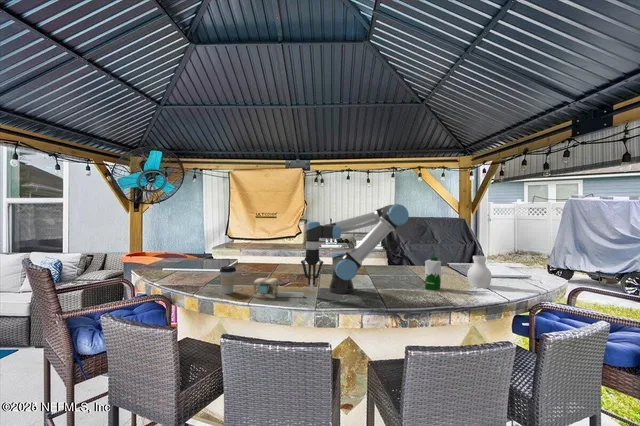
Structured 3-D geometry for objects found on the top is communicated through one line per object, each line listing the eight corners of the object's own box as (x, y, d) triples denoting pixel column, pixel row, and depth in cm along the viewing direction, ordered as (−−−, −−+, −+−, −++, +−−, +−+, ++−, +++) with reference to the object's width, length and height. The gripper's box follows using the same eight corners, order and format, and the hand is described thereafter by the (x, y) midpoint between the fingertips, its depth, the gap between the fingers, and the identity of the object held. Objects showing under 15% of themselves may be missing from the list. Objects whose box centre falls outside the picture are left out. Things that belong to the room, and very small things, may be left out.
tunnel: (278, 293, 172) (278, 278, 172) (274, 298, 163) (274, 282, 163) (258, 293, 173) (258, 277, 173) (253, 297, 164) (253, 281, 164)
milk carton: (442, 288, 187) (442, 257, 187) (437, 291, 180) (437, 259, 180) (428, 286, 193) (428, 256, 193) (423, 288, 186) (423, 257, 186)
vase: (488, 284, 199) (489, 255, 199) (494, 290, 185) (494, 258, 185) (465, 283, 203) (465, 254, 203) (469, 288, 190) (469, 257, 189)
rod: (303, 297, 167) (303, 292, 167) (302, 298, 165) (302, 293, 165) (271, 295, 169) (271, 291, 169) (269, 296, 167) (270, 292, 167)
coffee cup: (231, 295, 167) (231, 269, 167) (216, 294, 169) (216, 268, 169) (238, 291, 177) (239, 266, 177) (224, 290, 178) (224, 265, 178)
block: (269, 294, 170) (269, 284, 170) (266, 297, 165) (266, 286, 165) (260, 294, 171) (260, 283, 171) (258, 296, 166) (258, 286, 166)
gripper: (324, 248, 169) (323, 289, 169) (302, 247, 170) (301, 288, 170) (323, 250, 161) (322, 292, 162) (300, 249, 163) (299, 291, 163)
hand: (311, 290), depth 166 cm, fingers closed
